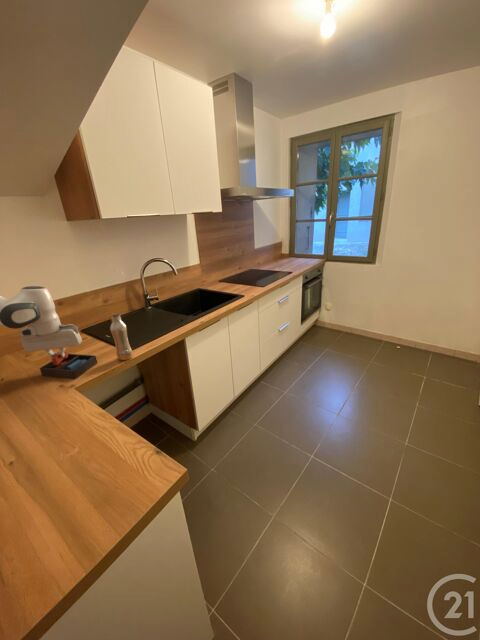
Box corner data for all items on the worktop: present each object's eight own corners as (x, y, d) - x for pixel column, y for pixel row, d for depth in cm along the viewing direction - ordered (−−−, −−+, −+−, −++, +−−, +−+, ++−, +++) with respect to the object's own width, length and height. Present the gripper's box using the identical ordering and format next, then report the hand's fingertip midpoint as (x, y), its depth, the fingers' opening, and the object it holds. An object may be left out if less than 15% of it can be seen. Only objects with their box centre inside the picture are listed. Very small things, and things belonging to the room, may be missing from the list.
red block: (60, 364, 105) (58, 358, 104) (50, 365, 104) (48, 359, 103) (69, 354, 112) (67, 348, 111) (60, 355, 112) (58, 349, 111)
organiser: (42, 375, 105) (39, 368, 104) (67, 360, 116) (64, 353, 115) (75, 379, 102) (72, 371, 100) (97, 362, 113) (95, 355, 111)
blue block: (74, 373, 104) (72, 367, 103) (66, 373, 105) (64, 366, 103) (90, 363, 111) (88, 356, 110) (82, 362, 112) (80, 356, 111)
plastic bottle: (122, 363, 111) (111, 319, 104) (115, 358, 115) (104, 316, 108) (136, 357, 115) (126, 315, 108) (129, 353, 120) (119, 312, 112)
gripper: (79, 320, 106) (88, 350, 111) (24, 326, 103) (35, 356, 109) (72, 326, 101) (82, 357, 106) (14, 332, 98) (27, 364, 103)
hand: (58, 357), depth 107 cm, fingers closed on red block
